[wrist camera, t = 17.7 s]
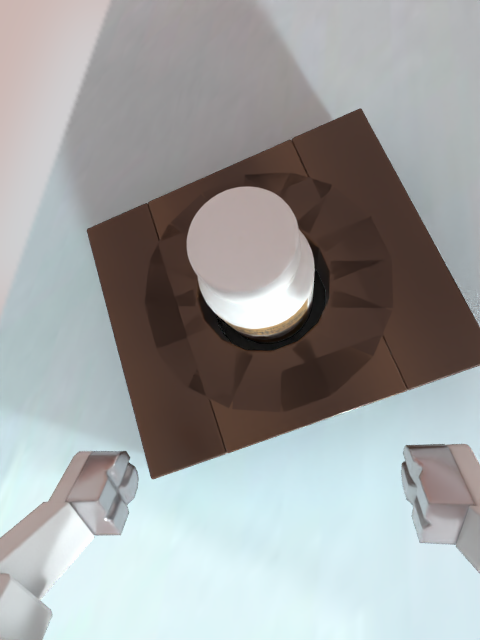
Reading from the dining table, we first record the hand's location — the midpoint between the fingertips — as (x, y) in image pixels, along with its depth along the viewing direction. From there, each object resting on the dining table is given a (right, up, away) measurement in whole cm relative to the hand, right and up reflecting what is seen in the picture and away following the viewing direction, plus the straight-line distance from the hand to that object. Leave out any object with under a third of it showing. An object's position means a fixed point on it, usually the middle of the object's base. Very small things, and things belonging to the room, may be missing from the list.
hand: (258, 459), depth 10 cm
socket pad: (+1, +5, +7) cm, 9 cm away
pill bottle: (+1, +5, +8) cm, 9 cm away
